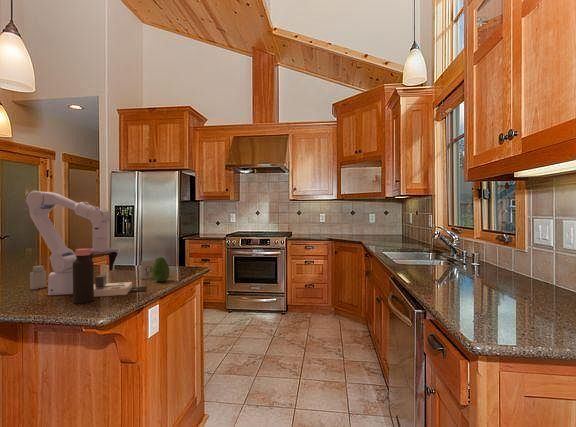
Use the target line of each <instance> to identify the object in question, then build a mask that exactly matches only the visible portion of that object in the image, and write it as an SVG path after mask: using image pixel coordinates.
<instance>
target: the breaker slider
mask: <svg viewBox="0 0 576 427" xmlns="http://www.w3.org/2000/svg"><path fill="white" fill-rule="evenodd" d="M94 282H95V283H94V284H95V287H104V286H105V285H106V283H107V275H106V274H102V275H101V274H99V275H97V276H95V277H94Z"/></svg>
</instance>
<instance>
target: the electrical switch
mask: <svg viewBox="0 0 576 427" xmlns="http://www.w3.org/2000/svg"><path fill="white" fill-rule="evenodd" d="M155 260H156V259H147V260H145V259H144V260H141V261H140V269H141V270H140V274H141V276H140V279H141V280H150V279H154V278H153V276H152V268H153V265H154V262H155Z"/></svg>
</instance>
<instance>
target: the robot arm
mask: <svg viewBox="0 0 576 427" xmlns="http://www.w3.org/2000/svg"><path fill="white" fill-rule="evenodd" d="M25 203H26V204H27V206H28V211H29V216H30V218H31V220H32V223H34V224H33V225H35V227H36V229H37V230H38V232H39V233H40V234H39V235H40V236H41V237H42V238H43V241H44V243H45V245H46V246H47V247H48V249H49V251H50V252H51V254H50V256H49V258H48V259H49V260H50V265H51V269H52V270H53V271H52V272H50V273H49V275H48V282H47V285H48V286H47V292H48V293H47V296H58V295H59V296H61V295H73V262H74V261H75V260H76V259H77V257H76V255H75V251H73V249H71V248H69V247H67V246H66V243H65V242H64V241H63V238H62V237H61V236H60V234H59V232H58V231H57V229H56V227H55V225H54V223H53V222H52V220H51V219H50V217H49V213H50V212H51V211H52V209H54V207H55V206H57V205H58V206H62V207H64V208H67V209H70V210H73V211H74V214H75V215H77V216H80V217H81V218H85V219H87V220H89V221H90V222H91V226H92V248H90V249H91V254H90V259H91V260H92V261H93V255H94V254H108V260H109V266H108V269H109V272H110V271H112V270H113V268H114V264H115V262H116V258H117V257H118V254H120V253H121V248H120V247H109V221H111V219H112V214H111V213H110V211H109V210H108V209H105V208H103V209H100V207H99V206H94V205H91V204H90V203H89V202H88V201H80V202H76V201H75V200H72V199H70V198H68V197H66V196H64V195H61V194H60V193H56V192H54V191H39V190H32V191H30V192H29V193H28V194H27V197H26V199H25Z"/></svg>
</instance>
